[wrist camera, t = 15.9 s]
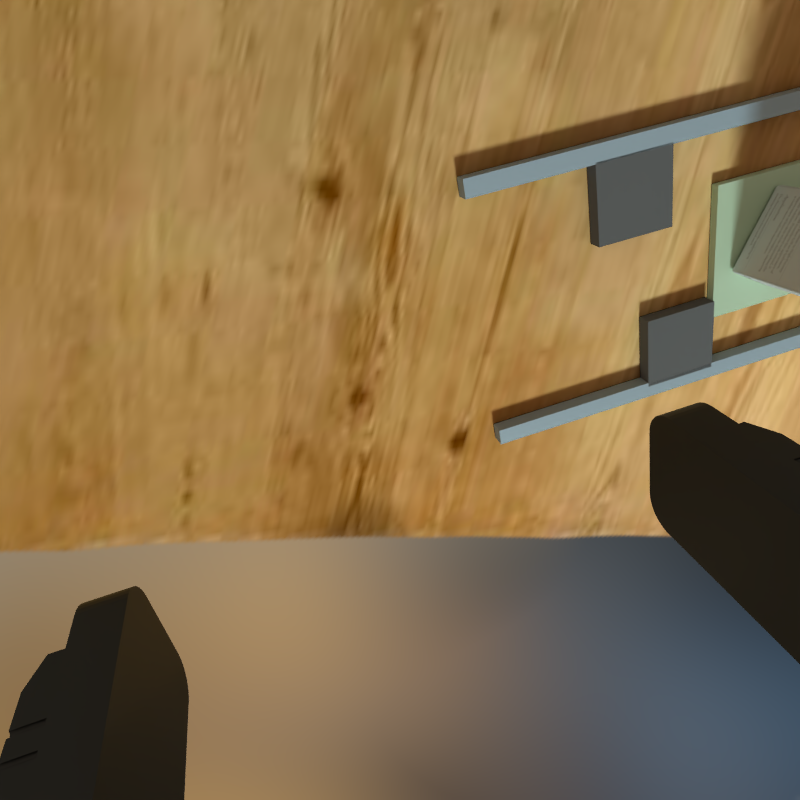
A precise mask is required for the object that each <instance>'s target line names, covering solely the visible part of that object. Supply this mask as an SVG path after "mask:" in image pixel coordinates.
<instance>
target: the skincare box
mask: <svg viewBox="0 0 800 800" xmlns="http://www.w3.org/2000/svg"><path fill="white" fill-rule="evenodd" d="M732 271H733V272H734V273H736V274H738V275H741V276H744V277H746V278H749V279H751V280H754V281H756V282H759V283H761V284H764V285H767V286H770V287H773V288H777V289H780V290H783V291H786V292H789V293H792V294H795V295H798V296H800V188H797V187H791V186H785V185H778V186H777V187H776V188H775V190H774V192H773V194H772V196H771V198H770V200H769V202H768V204H767V205H766V207H765V209H764V211H763V213H762V215H761V217H760V219H759V221H758V223H757V224H756V226H755V228H754V230H753V232H752V234H751V236H750V238H749V240H748V241H747V243H746V245H745V247H744V249H743V251H742V253H741V255H740V257H739V258H738V260H737V262H736V264H735V266H734V268H733V270H732Z"/></svg>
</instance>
